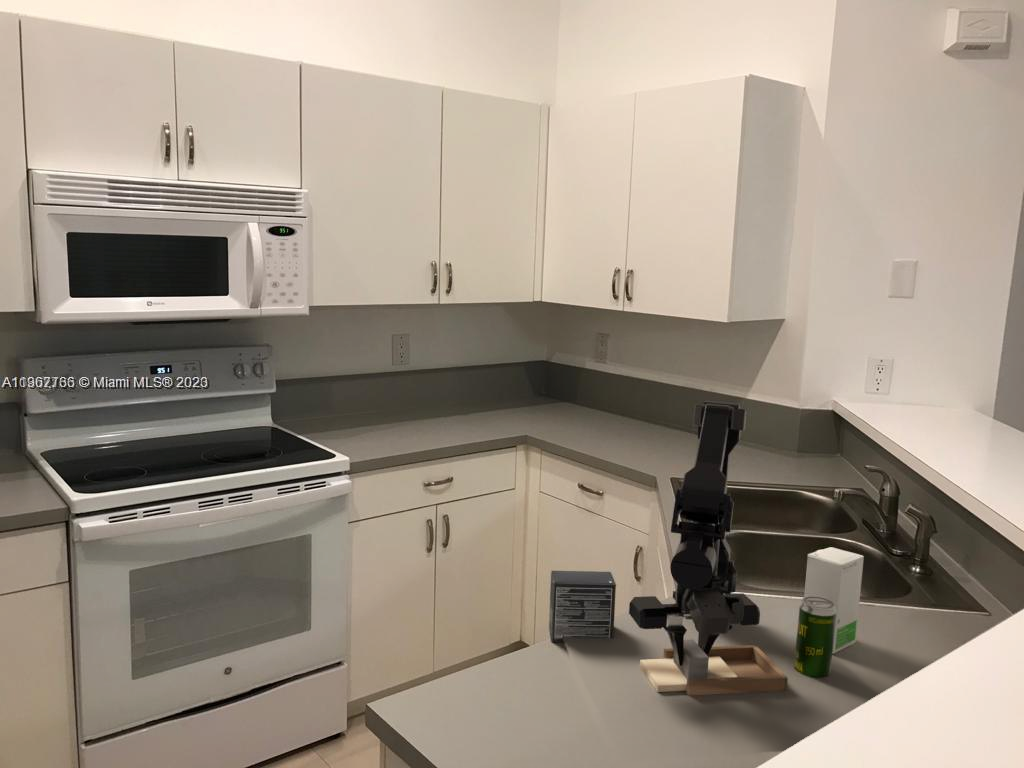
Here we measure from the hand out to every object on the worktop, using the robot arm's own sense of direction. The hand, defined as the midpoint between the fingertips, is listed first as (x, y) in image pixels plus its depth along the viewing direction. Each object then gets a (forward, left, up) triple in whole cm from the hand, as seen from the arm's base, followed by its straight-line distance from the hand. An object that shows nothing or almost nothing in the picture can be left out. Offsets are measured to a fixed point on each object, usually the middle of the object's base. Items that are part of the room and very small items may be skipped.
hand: (690, 664), depth 128 cm
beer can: (-1, +20, -3) cm, 21 cm away
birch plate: (0, 0, -2) cm, 2 cm away
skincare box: (-12, +29, -3) cm, 32 cm away
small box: (-18, -13, -3) cm, 22 cm away
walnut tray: (0, +5, -3) cm, 6 cm away
